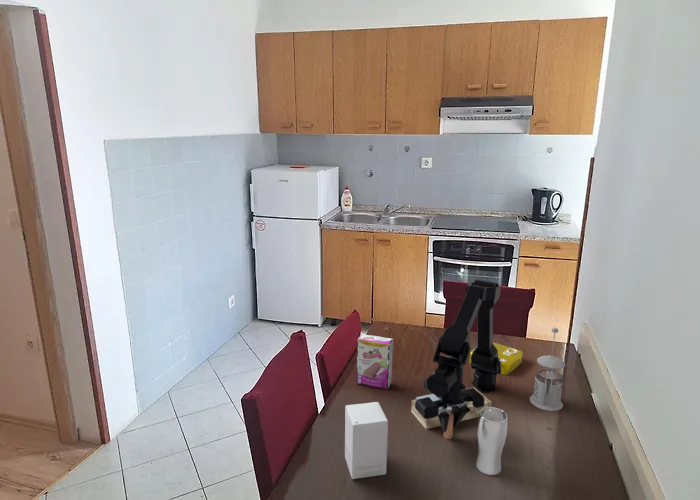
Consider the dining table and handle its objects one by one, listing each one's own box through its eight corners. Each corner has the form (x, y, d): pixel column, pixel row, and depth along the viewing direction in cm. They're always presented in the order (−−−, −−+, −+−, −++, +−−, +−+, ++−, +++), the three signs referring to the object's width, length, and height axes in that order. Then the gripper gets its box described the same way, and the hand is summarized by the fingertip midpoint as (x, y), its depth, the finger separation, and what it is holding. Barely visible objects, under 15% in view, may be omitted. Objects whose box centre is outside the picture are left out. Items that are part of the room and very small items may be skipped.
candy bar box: (355, 384, 157) (356, 338, 153) (360, 377, 162) (361, 332, 158) (388, 390, 154) (389, 344, 150) (392, 383, 158) (393, 337, 154)
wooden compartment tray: (473, 398, 149) (473, 387, 148) (490, 414, 141) (491, 402, 140) (411, 411, 142) (411, 400, 141) (426, 429, 134) (426, 416, 133)
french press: (563, 398, 150) (573, 325, 144) (562, 417, 140) (573, 339, 134) (530, 390, 154) (538, 319, 148) (527, 409, 144) (536, 333, 138)
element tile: (485, 349, 184) (486, 338, 183) (523, 361, 175) (524, 350, 174) (467, 363, 173) (468, 351, 172) (506, 376, 164) (507, 364, 163)
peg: (449, 433, 132) (450, 410, 130) (453, 438, 130) (455, 415, 128) (441, 434, 131) (443, 412, 130) (446, 440, 129) (447, 417, 127)
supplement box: (387, 475, 115) (389, 421, 112) (351, 480, 114) (352, 425, 110) (377, 451, 124) (379, 400, 120) (344, 455, 122) (344, 404, 119)
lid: (436, 394, 144) (436, 387, 143) (452, 410, 136) (452, 402, 135) (416, 399, 141) (416, 391, 141) (431, 415, 133) (431, 407, 133)
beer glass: (470, 458, 122) (474, 406, 118) (496, 457, 122) (501, 405, 119) (479, 477, 115) (484, 423, 111) (507, 476, 116) (513, 422, 112)
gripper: (464, 360, 137) (460, 408, 141) (406, 370, 130) (404, 420, 134) (487, 378, 127) (483, 429, 130) (426, 390, 120) (423, 444, 124)
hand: (448, 430), depth 130 cm, fingers closed on peg, 2 cm apart
